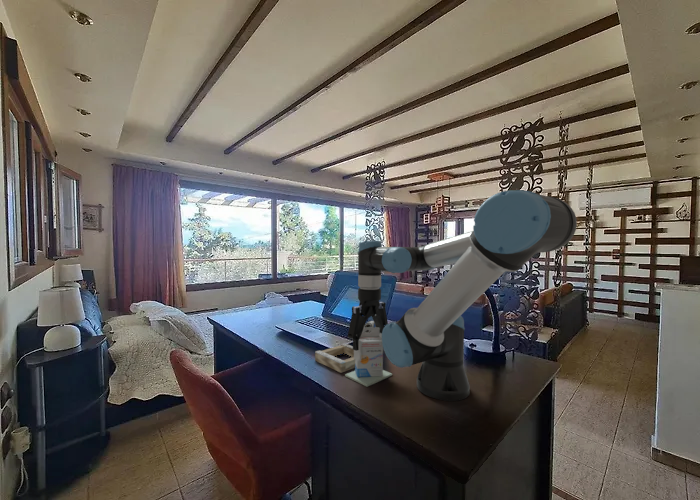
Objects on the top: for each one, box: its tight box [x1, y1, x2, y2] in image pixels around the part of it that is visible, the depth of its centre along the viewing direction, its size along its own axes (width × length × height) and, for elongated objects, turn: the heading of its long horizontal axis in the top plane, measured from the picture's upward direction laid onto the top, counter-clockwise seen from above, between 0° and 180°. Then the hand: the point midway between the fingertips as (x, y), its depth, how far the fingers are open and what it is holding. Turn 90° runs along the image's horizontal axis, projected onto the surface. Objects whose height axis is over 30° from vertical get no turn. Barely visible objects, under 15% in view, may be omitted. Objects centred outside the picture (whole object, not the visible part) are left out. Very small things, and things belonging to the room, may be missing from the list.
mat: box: [344, 369, 393, 388], centre depth 99 cm, size 10×12×1 cm
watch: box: [364, 320, 376, 333], centre depth 127 cm, size 6×8×11 cm
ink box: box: [354, 326, 384, 377], centre depth 99 cm, size 8×5×15 cm, turn 97°
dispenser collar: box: [314, 342, 355, 374], centre depth 111 cm, size 14×14×3 cm
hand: (368, 355), depth 99 cm, fingers open, 10 cm apart
